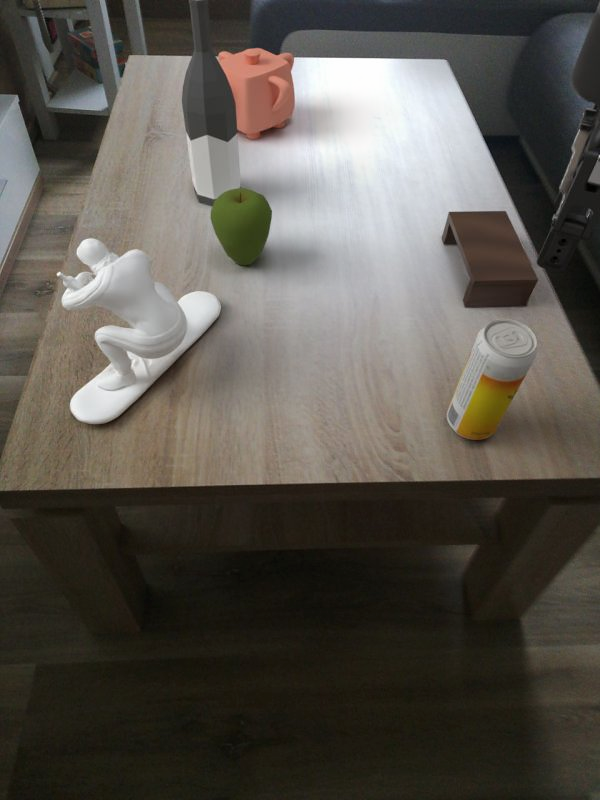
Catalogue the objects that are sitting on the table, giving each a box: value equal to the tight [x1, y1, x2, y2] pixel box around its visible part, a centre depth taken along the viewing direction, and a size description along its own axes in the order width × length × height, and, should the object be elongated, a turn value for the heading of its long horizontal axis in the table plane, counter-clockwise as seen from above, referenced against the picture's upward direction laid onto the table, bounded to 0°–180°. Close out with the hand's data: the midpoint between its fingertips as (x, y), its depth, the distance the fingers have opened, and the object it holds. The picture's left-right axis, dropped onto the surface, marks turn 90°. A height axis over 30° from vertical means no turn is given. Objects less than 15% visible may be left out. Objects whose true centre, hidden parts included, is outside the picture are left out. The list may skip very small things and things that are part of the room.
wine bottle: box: [181, 0, 242, 207], centre depth 84 cm, size 8×8×30 cm
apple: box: [209, 187, 273, 266], centre depth 81 cm, size 9×8×12 cm
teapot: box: [217, 47, 296, 140], centre depth 105 cm, size 17×16×13 cm
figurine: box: [56, 237, 222, 425], centre depth 66 cm, size 26×13×17 cm, turn 148°
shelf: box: [441, 210, 539, 308], centre depth 83 cm, size 16×9×5 cm, turn 3°
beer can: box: [446, 318, 538, 441], centre depth 62 cm, size 6×6×15 cm
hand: (558, 237), depth 47 cm, fingers open, 8 cm apart
